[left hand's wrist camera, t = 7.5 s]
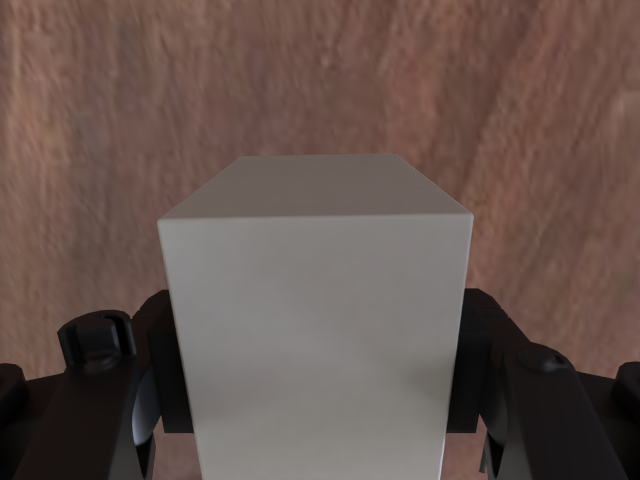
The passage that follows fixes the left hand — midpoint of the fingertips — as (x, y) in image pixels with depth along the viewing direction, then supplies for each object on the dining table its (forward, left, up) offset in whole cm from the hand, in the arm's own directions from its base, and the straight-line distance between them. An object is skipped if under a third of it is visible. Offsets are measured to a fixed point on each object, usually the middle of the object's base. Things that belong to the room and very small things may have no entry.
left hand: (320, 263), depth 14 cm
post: (+29, +6, -1) cm, 30 cm away
